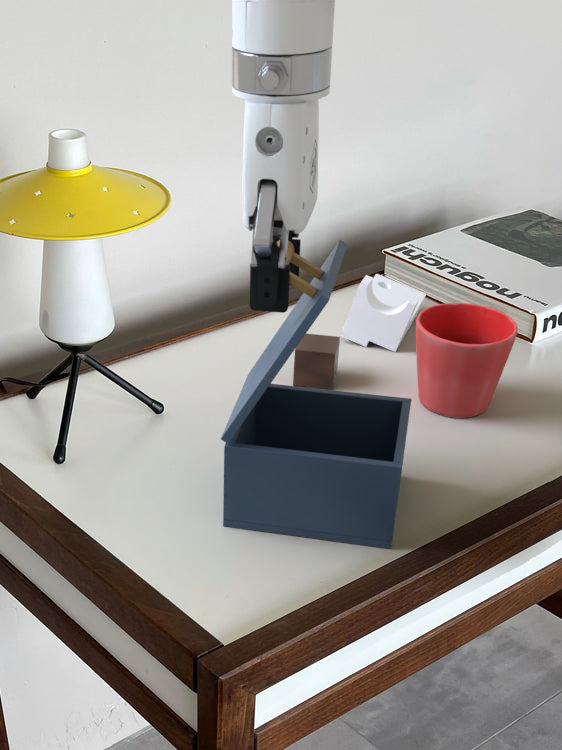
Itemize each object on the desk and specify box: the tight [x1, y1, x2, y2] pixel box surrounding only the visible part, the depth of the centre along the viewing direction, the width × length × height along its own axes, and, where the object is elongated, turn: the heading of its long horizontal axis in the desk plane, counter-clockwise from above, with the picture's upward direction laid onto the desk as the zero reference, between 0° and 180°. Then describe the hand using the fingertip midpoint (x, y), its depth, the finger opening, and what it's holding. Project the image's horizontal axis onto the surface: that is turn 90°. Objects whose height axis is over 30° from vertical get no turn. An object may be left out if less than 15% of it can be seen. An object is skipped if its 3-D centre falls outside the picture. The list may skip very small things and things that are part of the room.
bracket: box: [339, 273, 427, 353], centre depth 128 cm, size 13×7×8 cm, turn 157°
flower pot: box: [415, 302, 519, 419], centre depth 111 cm, size 11×11×10 cm
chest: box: [222, 383, 412, 550], centre depth 96 cm, size 16×13×9 cm
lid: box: [220, 239, 348, 444], centre depth 89 cm, size 16×13×6 cm
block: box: [292, 333, 341, 390], centre depth 118 cm, size 5×5×5 cm
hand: (274, 294), depth 87 cm, fingers closed on lid, 5 cm apart
